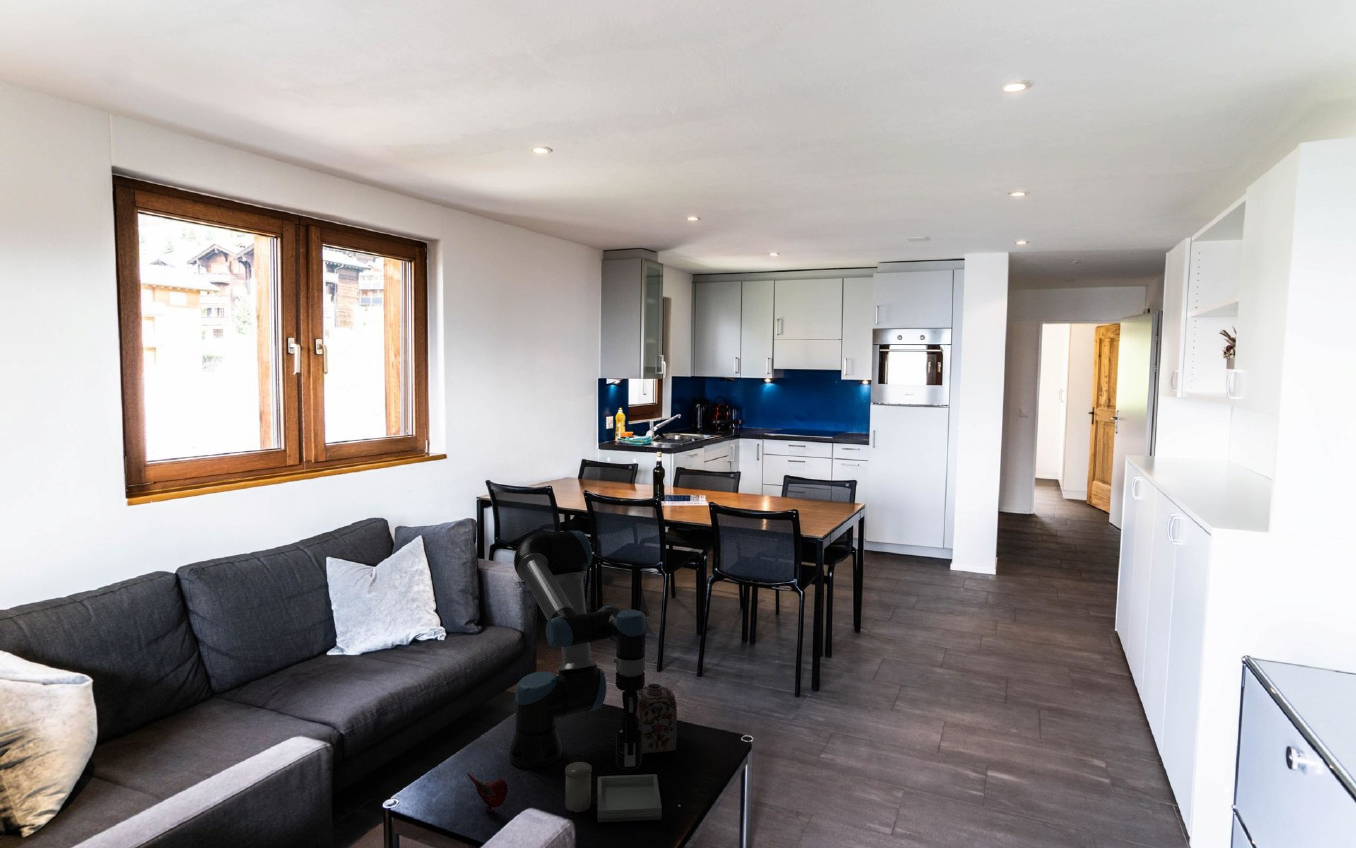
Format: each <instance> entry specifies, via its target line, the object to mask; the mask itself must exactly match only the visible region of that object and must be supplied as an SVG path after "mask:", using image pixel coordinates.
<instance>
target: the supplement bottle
mask: <svg viewBox="0 0 1356 848" xmlns="http://www.w3.org/2000/svg"><path fill="white" fill-rule="evenodd" d="M615 738H616V739H615V764H616V766H617V767H618V768H619V769H621V770H625V771H626V770H627V771H629V770H631V771H632V770H636V769H638V768H639V767H640V766H641V765H642V761H643V754H642V741H643V732H642V730H641V728H640V727H639V718H638V717H637V716H636V745H635V766H629V767H625V743H623V740H625V739H626V716H624V715H622V717H621V718H620V726H619V728H618V729H617V730H616V737H615Z"/></svg>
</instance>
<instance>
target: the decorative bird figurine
mask: <svg viewBox="0 0 1356 848" xmlns="http://www.w3.org/2000/svg"><path fill="white" fill-rule="evenodd" d="M467 777H469V779H470V780H471V781H472V783H473V784H474V786H475V789H476V791H477V794H478V795H479V797H480V798H481V799H482V801H483V803H484V804H486V807H485V808H486V809H489V810H488V811H490V813H492V812H493V813H496V814H495V815H497V816H499V814H498V813H497V812H496V811H495V809H493V808H498V807H500V806H501V805H502V804H503V803H504V802H505V799H506V796H507V793H509V789H508V783H507V782H506V781H505V780H504V779H498V780H496V781H494V782H493V781H492V782H490V781H485V780H483V781H478V780H477V779H476V778H475V777H473V775H471V774H470V773H467ZM493 813H492V814H493Z"/></svg>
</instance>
